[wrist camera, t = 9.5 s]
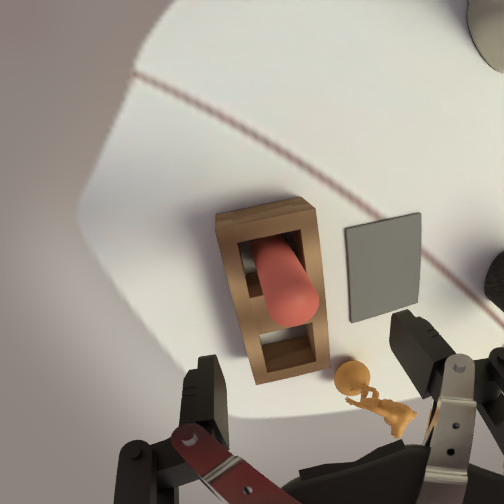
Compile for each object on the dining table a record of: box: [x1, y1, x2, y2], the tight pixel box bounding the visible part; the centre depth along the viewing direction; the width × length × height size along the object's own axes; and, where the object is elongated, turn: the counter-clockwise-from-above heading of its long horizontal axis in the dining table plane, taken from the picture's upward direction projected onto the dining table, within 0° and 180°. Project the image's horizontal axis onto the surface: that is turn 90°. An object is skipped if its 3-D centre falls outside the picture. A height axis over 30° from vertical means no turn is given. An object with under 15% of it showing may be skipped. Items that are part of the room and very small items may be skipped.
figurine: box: [334, 361, 417, 438], centre depth 27 cm, size 8×6×12 cm
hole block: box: [215, 197, 330, 385], centre depth 26 cm, size 15×7×4 cm, turn 11°
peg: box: [251, 233, 319, 327], centre depth 22 cm, size 3×3×10 cm
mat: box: [345, 213, 421, 323], centre depth 28 cm, size 10×8×1 cm
